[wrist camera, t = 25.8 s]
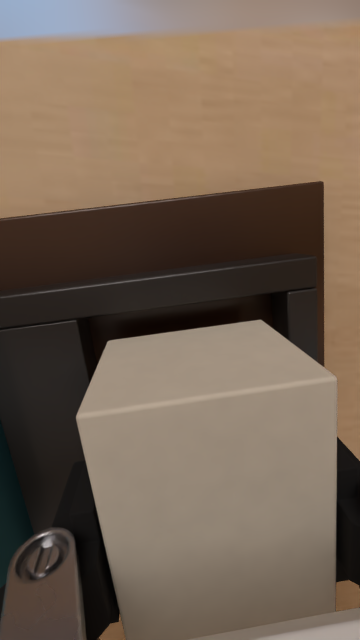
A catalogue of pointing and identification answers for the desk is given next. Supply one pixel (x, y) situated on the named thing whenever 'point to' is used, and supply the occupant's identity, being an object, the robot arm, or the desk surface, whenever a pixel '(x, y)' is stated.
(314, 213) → the back plate
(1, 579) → the teal pad
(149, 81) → the desk surface
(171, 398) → the cream pad
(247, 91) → the desk surface
